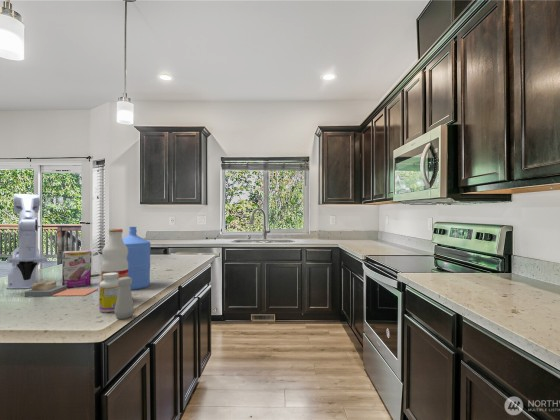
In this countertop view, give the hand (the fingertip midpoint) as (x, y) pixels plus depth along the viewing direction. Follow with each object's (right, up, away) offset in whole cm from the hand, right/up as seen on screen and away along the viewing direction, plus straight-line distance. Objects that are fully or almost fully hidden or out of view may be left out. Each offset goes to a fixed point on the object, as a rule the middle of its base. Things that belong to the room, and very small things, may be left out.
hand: (26, 279), depth 131 cm
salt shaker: (+56, -6, -29) cm, 63 cm away
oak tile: (+7, -4, +1) cm, 8 cm away
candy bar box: (+12, -7, +14) cm, 19 cm away
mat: (+20, -6, +2) cm, 21 cm away
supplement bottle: (+47, -6, -21) cm, 52 cm away
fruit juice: (+42, -6, -9) cm, 43 cm away
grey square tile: (+8, -6, +1) cm, 10 cm away
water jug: (+38, -7, +14) cm, 41 cm away
